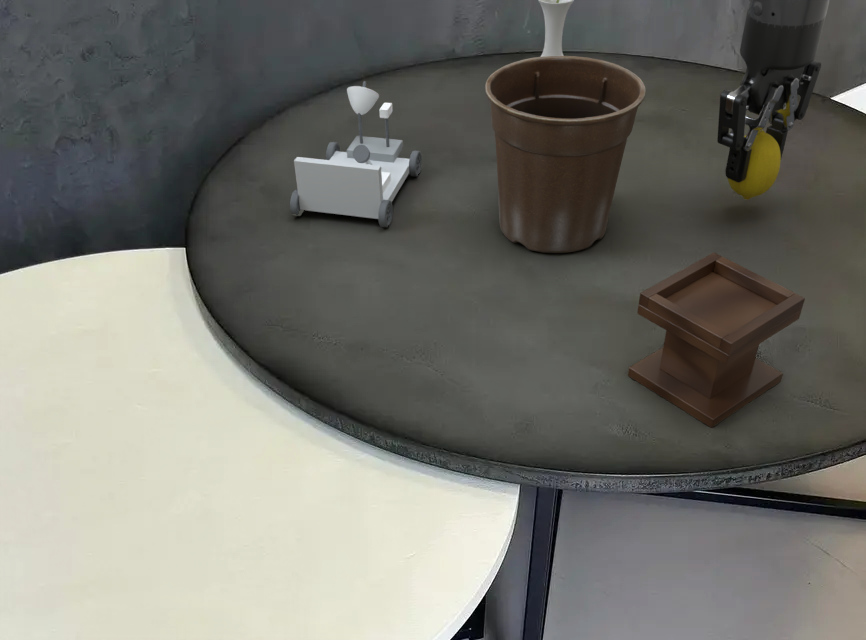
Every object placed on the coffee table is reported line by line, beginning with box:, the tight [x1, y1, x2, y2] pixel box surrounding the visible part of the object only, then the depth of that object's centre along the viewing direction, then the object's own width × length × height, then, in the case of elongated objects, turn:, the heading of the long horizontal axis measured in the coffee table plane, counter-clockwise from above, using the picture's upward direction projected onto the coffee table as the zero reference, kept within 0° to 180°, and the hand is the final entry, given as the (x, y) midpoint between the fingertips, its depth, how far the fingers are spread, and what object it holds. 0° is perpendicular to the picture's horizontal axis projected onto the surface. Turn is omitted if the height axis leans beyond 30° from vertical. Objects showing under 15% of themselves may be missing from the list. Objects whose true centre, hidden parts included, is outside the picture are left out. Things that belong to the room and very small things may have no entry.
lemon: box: [727, 129, 782, 201], centre depth 109 cm, size 6×6×8 cm
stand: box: [627, 252, 806, 428], centre depth 89 cm, size 10×10×9 cm
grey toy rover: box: [289, 80, 423, 228], centre depth 117 cm, size 18×10×12 cm
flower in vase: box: [537, 0, 575, 57], centre depth 126 cm, size 13×11×25 cm
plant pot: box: [484, 55, 646, 254], centre depth 107 cm, size 16×16×16 cm
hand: (752, 169), depth 109 cm, fingers closed on lemon, 5 cm apart
